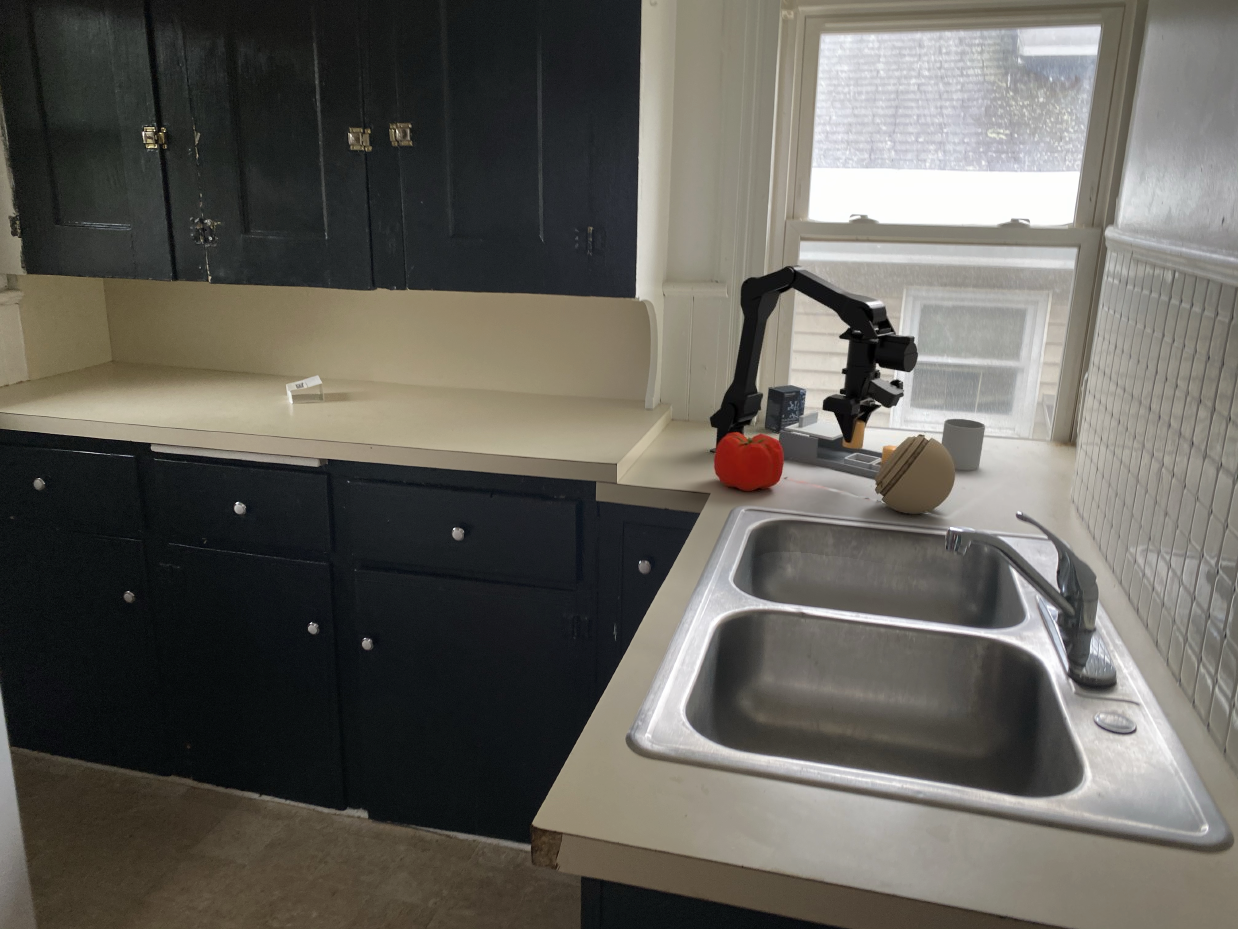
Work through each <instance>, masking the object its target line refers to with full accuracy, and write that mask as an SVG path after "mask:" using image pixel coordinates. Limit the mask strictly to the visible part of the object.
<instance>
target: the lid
mask: <svg viewBox="0 0 1238 929" xmlns="http://www.w3.org/2000/svg"><path fill="white" fill-rule="evenodd" d="M818 417H819V411H811V412H807V413H804V415H802V416H799V423H796V424H793V425H790V426H788V427H785V430H787V431H790V432H791V433H795V434H800V435H805V436H809V435H810V436H814V437H819V438H824V439H828V440H834V439H837V438H839V437H842V436H843V434H842V432H841V429H840V426H839V424H838V422H834V421H828V420H823V419H819V418H818Z"/></svg>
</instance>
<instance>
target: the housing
mask: <svg viewBox="0 0 1238 929" xmlns="http://www.w3.org/2000/svg"><path fill="white" fill-rule="evenodd" d="M778 434H779V436H778V441H779V442H780V444H781V446H782V449H783V455H784V460H785V461H786V460H795V461H799V462H804V463H808V464H811V465H816V466H820V467H825V468H830V469H834V470H837V471H841V472H845V473H850V474H853V475H854V474H855V475H858V476H863V477H867V478H871V479H875V477H876V476H877V474H878V472H879V470H880V469H881V467H882V466H881V459H882V451H877V450H872V449H867V448H863V447H862V448H859V449H853V448H847V447H844V446H843V445H842V444H843V436H842V437H839V438H837V439H834V440H828V439H824V438H819V437H814V436H810V435H805V434H801V433H796V432H791V431H790V432H786V431H782V430H781V431H780V433H778Z"/></svg>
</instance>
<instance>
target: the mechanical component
mask: <svg viewBox="0 0 1238 929" xmlns="http://www.w3.org/2000/svg"><path fill="white" fill-rule="evenodd" d="M941 443H942V442H939V440H937V439H935V438H933V437H931V438H930V439H927V438H926V435H925V434H921V433H919V434H917V436H915V435H914V436H907V438H906V439H904V440H903V441H902V442H901V443H900V444H899V445H898V446H897V448H896V449H895V450H894V451H893V452H892V454H891V455H890V456H889V457H888V459H887V460H886V461H885V463H884V464H883V466H882V467H881V469H880V470H879V472H878V474H877V476H876V477H875V478H874V481H875V488H874V492H875V493H876V495H879V494H880V495H881V496H882V498H881V501H882V502H883V504H884V505H886V506H888V507H889V508H891V509H893V510H894V511H896V512H899V513H902V512H903V514H907V513H909V515H910V514H911V515H917V514H924V513H927V512H929V511H930V512H931V511H932V510H934V509H936V508H938V507H939V506H940V505H941V504H943V503H944V501H946V500H947V498H948V497H949V495H950V494H951V492H952V490H953V488H954V485H955V480H956V469H955V467H954V463H953V460H952V457H951V455H950V454H949V452H948V451H947V449H946V448H945V447H944V446H943V445H942V444H941Z"/></svg>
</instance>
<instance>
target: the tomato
mask: <svg viewBox="0 0 1238 929" xmlns="http://www.w3.org/2000/svg"><path fill="white" fill-rule="evenodd" d="M715 448H716V447H715ZM784 462H785V461H784V455H783V449H782V446H781V444H780V442H779V439H776V438H774V437H772V436H770V435H767V434H763V433H759V434H758V435H757V434H756V435H754V436H753V437H746V436H745V434H744V435H742V434H740V433H738V432H733V433H728V434H727V435H726V436H725V437H723V438H722V439H721V441H720V442H719V443H718V445H717V448H716V451H715V453H714V459H713V469H714V472H715V475H716V476H717V478H718V479H719V480H720V482H721V483H722V484H723V485H725V486H726V487H728V488H729V487H730V488H737V489H739V490H741V491H744V492H751V491H754V490H757V489H763V490H764V489H768V488H772V487H773V486H775V485H777V483H779V482H780V480H781V477H782V475H783V470H784V469H783V468H784Z"/></svg>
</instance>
